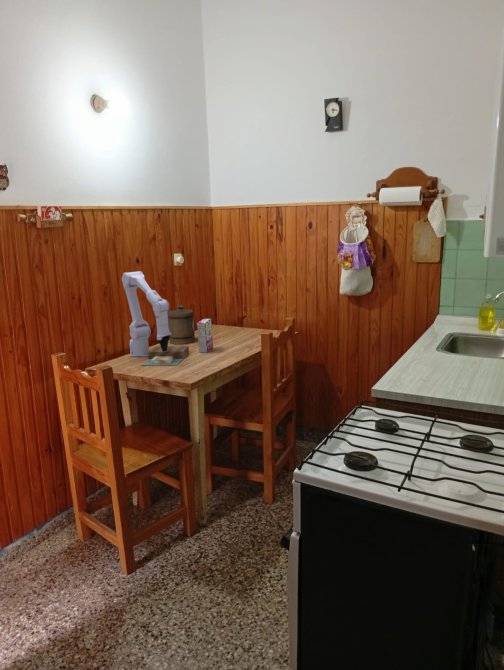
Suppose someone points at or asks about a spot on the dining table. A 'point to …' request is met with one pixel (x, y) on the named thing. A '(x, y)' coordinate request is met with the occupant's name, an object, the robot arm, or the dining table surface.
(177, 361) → the rubber mat
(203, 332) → the candy bar box
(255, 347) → the dining table surface
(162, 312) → the robot arm
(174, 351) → the walnut board
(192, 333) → the wooden container
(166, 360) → the birch tile
